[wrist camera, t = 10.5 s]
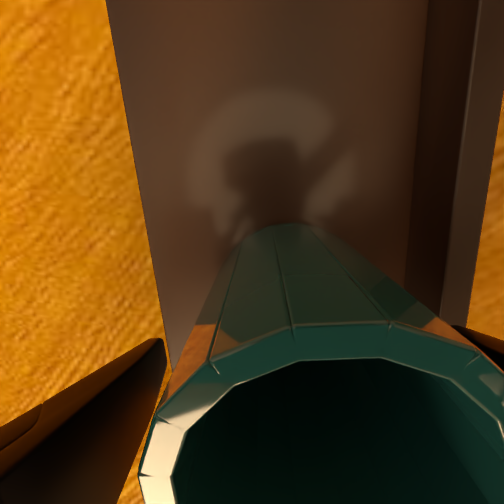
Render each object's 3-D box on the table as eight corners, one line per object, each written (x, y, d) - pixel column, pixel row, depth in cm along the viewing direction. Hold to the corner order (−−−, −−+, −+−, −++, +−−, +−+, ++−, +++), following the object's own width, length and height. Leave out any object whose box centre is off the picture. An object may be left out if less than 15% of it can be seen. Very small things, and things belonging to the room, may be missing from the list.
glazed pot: (367, 217, 11) (606, 311, 3) (361, 355, 13) (509, 622, 5) (208, 227, 11) (100, 333, 4) (224, 360, 13) (171, 616, 6)
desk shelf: (406, -54, 12) (569, -311, 6) (380, 344, 17) (448, 440, 11) (139, -23, 12) (15, -223, 6) (195, 351, 18) (158, 446, 12)
